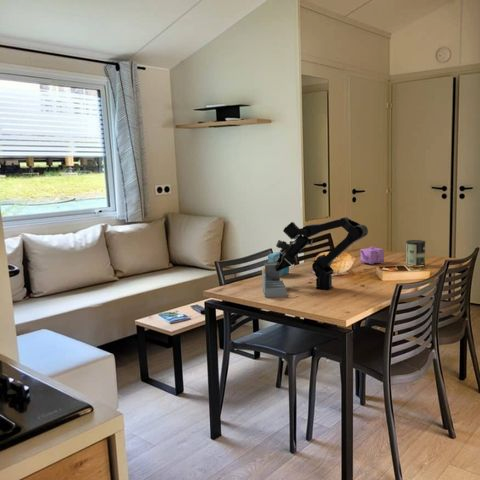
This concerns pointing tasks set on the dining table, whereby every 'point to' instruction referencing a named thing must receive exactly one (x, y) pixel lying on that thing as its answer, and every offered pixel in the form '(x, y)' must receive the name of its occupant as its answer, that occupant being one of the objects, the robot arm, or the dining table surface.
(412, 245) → the coffee can
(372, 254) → the purple box
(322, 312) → the dining table surface
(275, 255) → the data package
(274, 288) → the rack
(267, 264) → the grey rectangular block
